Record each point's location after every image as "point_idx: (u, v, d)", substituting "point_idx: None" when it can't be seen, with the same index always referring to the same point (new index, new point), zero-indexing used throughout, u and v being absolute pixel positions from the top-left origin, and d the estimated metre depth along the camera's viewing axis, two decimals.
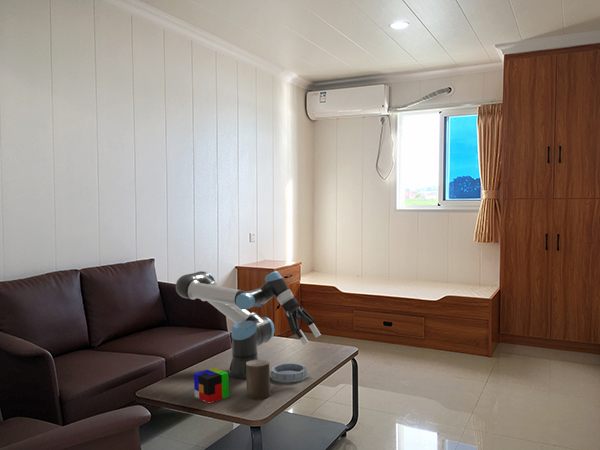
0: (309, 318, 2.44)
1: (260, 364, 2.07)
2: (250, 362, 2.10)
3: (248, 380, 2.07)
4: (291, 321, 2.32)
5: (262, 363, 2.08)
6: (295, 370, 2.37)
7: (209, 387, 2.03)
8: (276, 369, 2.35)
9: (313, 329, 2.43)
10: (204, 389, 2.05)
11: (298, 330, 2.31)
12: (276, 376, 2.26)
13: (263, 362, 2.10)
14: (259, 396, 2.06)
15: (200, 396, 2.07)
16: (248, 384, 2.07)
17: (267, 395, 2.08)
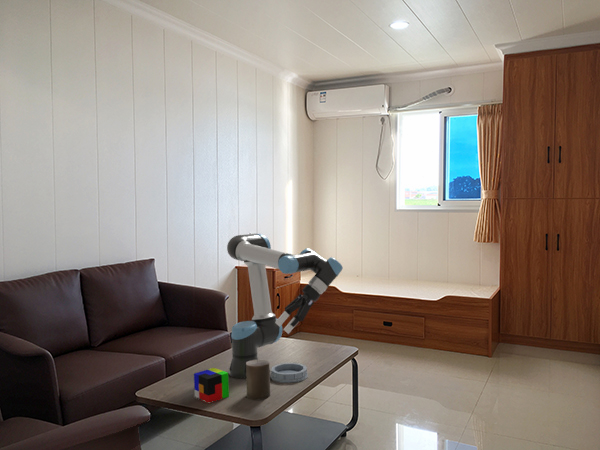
0: None
1: (260, 364, 2.07)
2: (250, 362, 2.10)
3: (248, 380, 2.07)
4: (306, 311, 2.07)
5: (262, 363, 2.08)
6: (295, 370, 2.37)
7: (209, 387, 2.03)
8: (276, 369, 2.35)
9: (283, 317, 2.19)
10: (204, 389, 2.05)
11: None
12: (276, 376, 2.26)
13: (263, 362, 2.10)
14: (259, 396, 2.06)
15: (200, 396, 2.07)
16: (248, 384, 2.07)
17: (267, 395, 2.08)
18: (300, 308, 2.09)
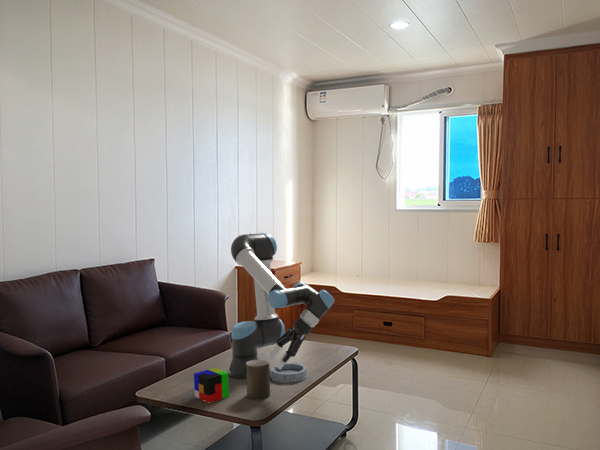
0: None
1: (260, 364, 2.07)
2: (250, 362, 2.10)
3: (248, 380, 2.07)
4: (298, 346, 2.05)
5: (262, 363, 2.08)
6: (295, 370, 2.37)
7: (209, 387, 2.03)
8: (276, 369, 2.35)
9: (274, 350, 2.17)
10: (204, 389, 2.05)
11: None
12: (276, 376, 2.26)
13: (263, 362, 2.10)
14: (259, 396, 2.06)
15: (200, 396, 2.07)
16: (248, 384, 2.07)
17: (267, 395, 2.08)
18: (292, 343, 2.07)
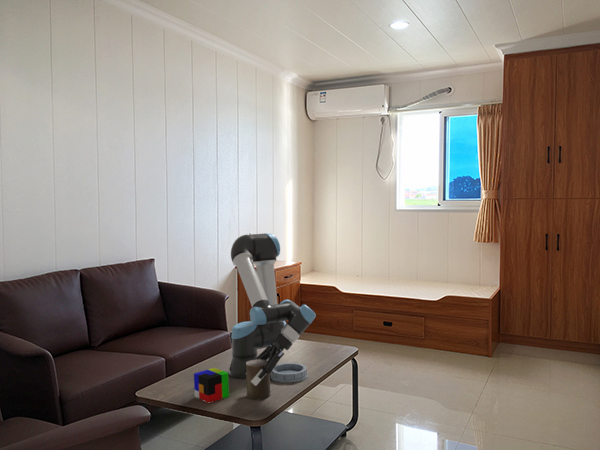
0: (265, 359, 2.16)
1: (260, 364, 2.07)
2: (250, 362, 2.10)
3: (248, 380, 2.07)
4: (275, 363, 2.04)
5: (262, 363, 2.08)
6: (295, 370, 2.37)
7: (209, 387, 2.03)
8: (276, 369, 2.35)
9: None
10: (204, 389, 2.05)
11: (266, 372, 2.05)
12: (276, 376, 2.26)
13: (263, 362, 2.10)
14: (259, 396, 2.06)
15: (200, 396, 2.07)
16: (248, 384, 2.07)
17: (267, 395, 2.08)
18: (269, 359, 2.07)
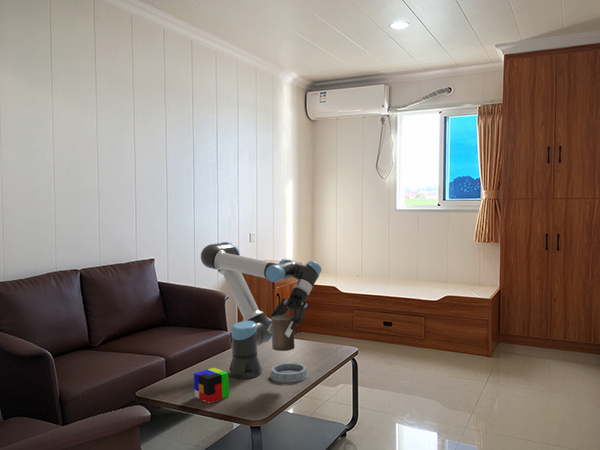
0: None
1: (288, 317, 2.20)
2: (277, 317, 2.20)
3: (279, 334, 2.17)
4: (303, 313, 2.21)
5: (288, 317, 2.21)
6: (295, 370, 2.37)
7: (209, 387, 2.03)
8: (276, 369, 2.35)
9: None
10: (204, 389, 2.05)
11: None
12: (276, 376, 2.26)
13: (287, 316, 2.23)
14: (290, 347, 2.19)
15: (200, 396, 2.07)
16: (279, 337, 2.17)
17: None
18: (296, 311, 2.22)
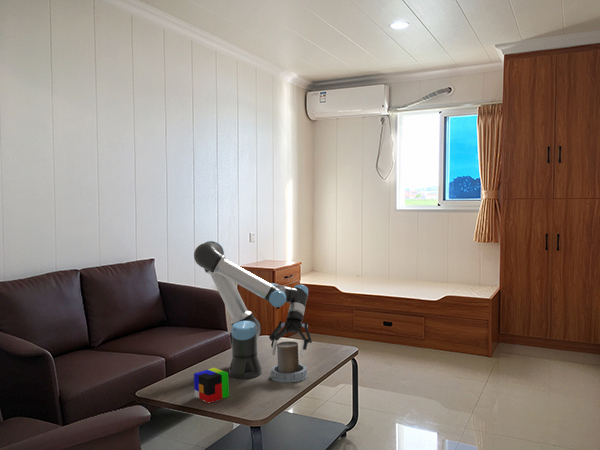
0: None
1: (294, 343, 2.32)
2: (284, 345, 2.30)
3: (288, 360, 2.28)
4: None
5: (293, 343, 2.33)
6: None
7: (209, 387, 2.03)
8: (276, 369, 2.35)
9: (275, 346, 2.34)
10: (204, 389, 2.05)
11: None
12: (276, 376, 2.26)
13: (291, 342, 2.34)
14: None
15: (200, 396, 2.07)
16: (288, 364, 2.28)
17: None
18: None
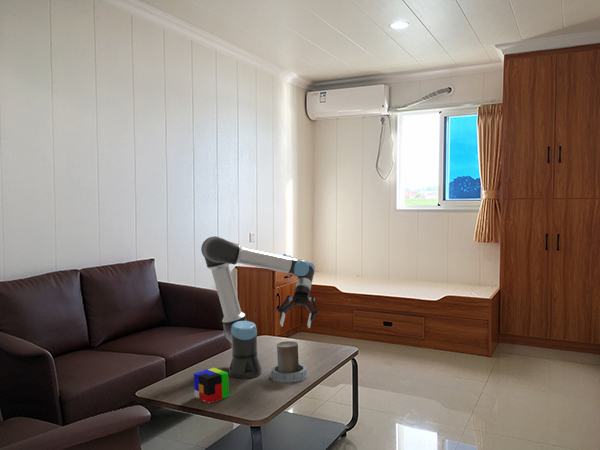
0: None
1: (294, 343, 2.32)
2: (284, 345, 2.30)
3: (288, 360, 2.28)
4: None
5: (293, 343, 2.33)
6: None
7: (209, 387, 2.03)
8: (276, 369, 2.35)
9: (283, 318, 2.46)
10: (204, 389, 2.05)
11: None
12: (276, 376, 2.26)
13: (291, 342, 2.34)
14: None
15: (200, 396, 2.07)
16: (288, 364, 2.28)
17: None
18: None
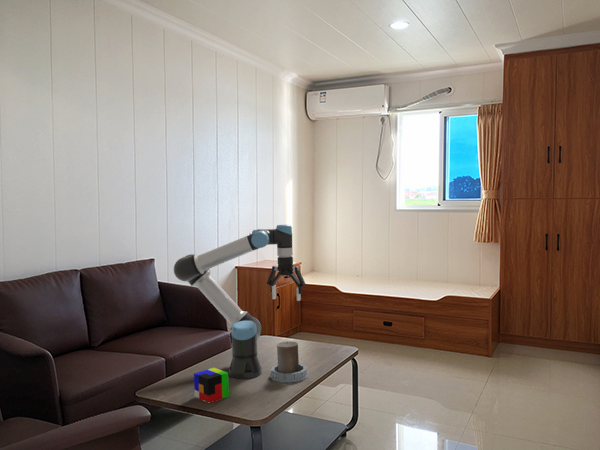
0: None
1: (294, 343, 2.32)
2: (284, 345, 2.30)
3: (288, 360, 2.28)
4: (301, 276, 2.46)
5: (293, 343, 2.33)
6: None
7: (209, 387, 2.03)
8: (276, 369, 2.35)
9: (274, 291, 2.52)
10: (204, 389, 2.05)
11: None
12: (276, 376, 2.26)
13: (291, 342, 2.34)
14: None
15: (200, 396, 2.07)
16: (288, 364, 2.28)
17: None
18: (294, 278, 2.45)
